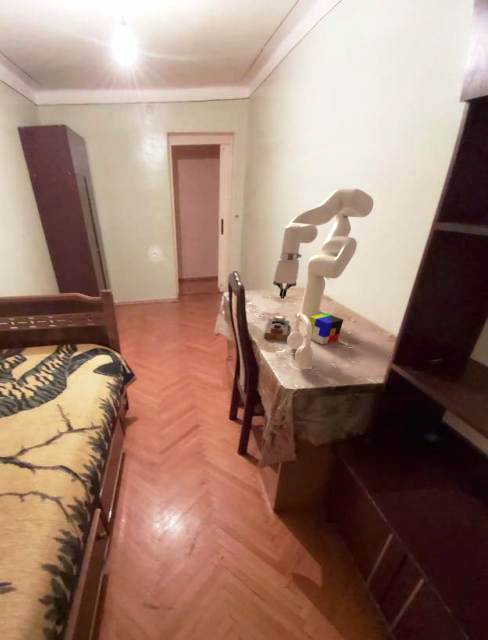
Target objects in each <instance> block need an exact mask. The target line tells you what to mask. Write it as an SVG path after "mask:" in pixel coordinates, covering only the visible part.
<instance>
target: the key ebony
mask: <svg viewBox="0 0 488 640" xmlns="http://www.w3.org/2000/svg"><path fill="white" fill-rule="evenodd" d="M280 327H281V324H279V323H275V325H274V328H280Z"/></svg>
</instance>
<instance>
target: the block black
mask: <svg viewBox="0 0 488 640" xmlns="http://www.w3.org/2000/svg"><path fill="white" fill-rule="evenodd" d="M275 323H279V324H281V325H284V327H288V328H289V324H290V320H286V317H283V319H282V321H276V316H273V318H269V319H268V323H267V325H269V326H271V325H272V324H275Z"/></svg>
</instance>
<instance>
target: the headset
mask: <svg viewBox="0 0 488 640" xmlns="http://www.w3.org/2000/svg"><path fill="white" fill-rule="evenodd" d="M301 322H302V323H303V325H304V326H305V327H306V335H307V336H306V335H305V345H303V343H304V335H303V334H302V332H301V331H300V330H301V329H300V328H299V327H300V324H301ZM311 335H312V327H311V322H310V320H309V319H308V318H307V316H306V315H304V314H301V315H298V317H297V316H296V320H295V323H294V326H293V328H292V329H291V332H290V334H289V335H288V336H287V338H286V343H287V346H288V347H289V348H290V349H292V350H296V351H295V354H294V359H295V361H296V362H297V363H298V367H300V368H302V369H307V370H312V369H313V366H312V365H309V362H311V360H312V358H313V356H314V352H313V349H312V347H311V343H312V339H311ZM302 345H303V346H302Z"/></svg>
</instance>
